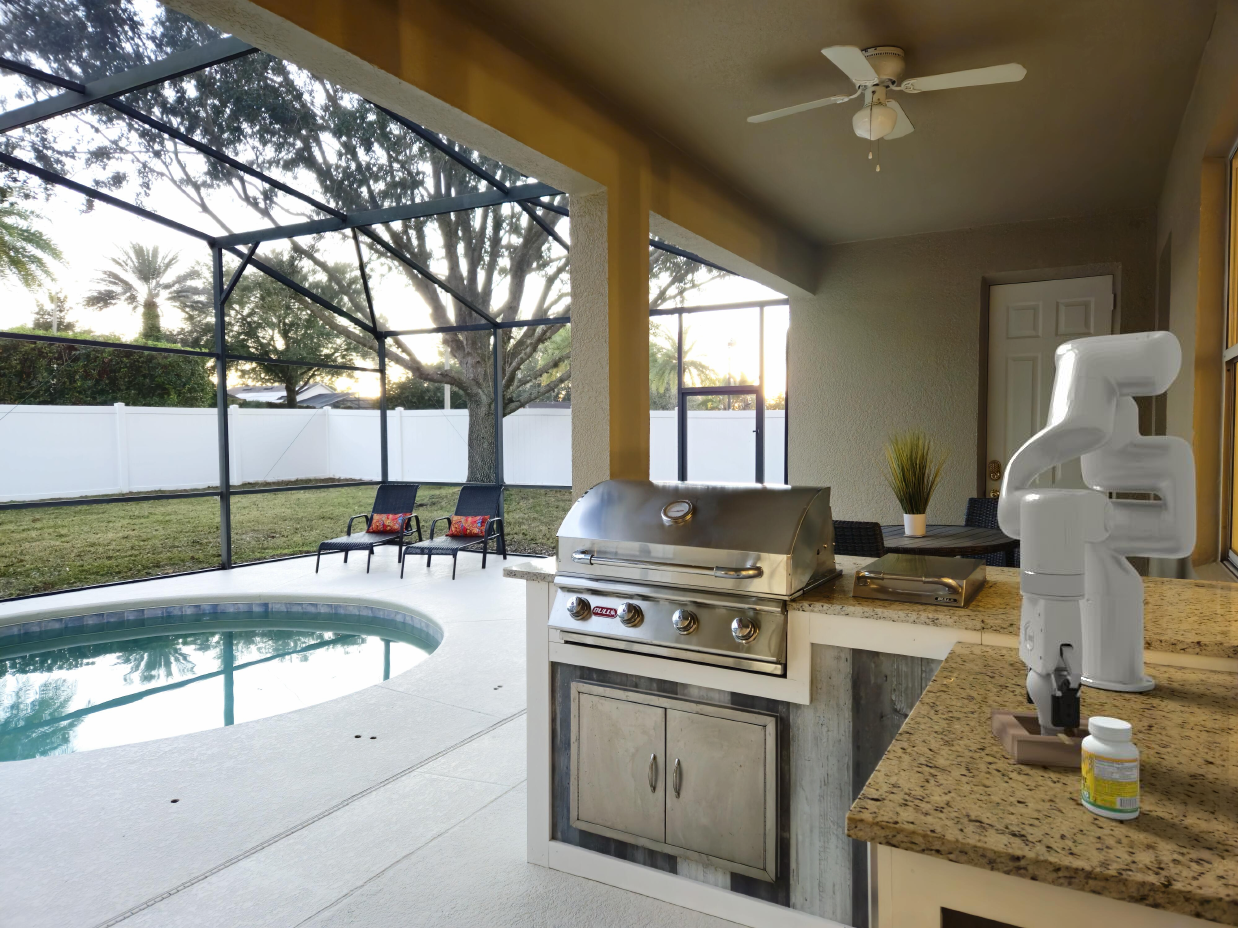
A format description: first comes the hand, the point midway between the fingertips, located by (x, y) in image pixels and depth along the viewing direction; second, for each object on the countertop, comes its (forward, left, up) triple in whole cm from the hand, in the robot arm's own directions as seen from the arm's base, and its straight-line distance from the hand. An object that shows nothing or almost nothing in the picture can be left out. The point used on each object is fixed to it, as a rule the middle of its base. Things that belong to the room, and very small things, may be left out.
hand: (1051, 714), depth 102 cm
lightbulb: (0, 0, -4) cm, 4 cm away
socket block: (0, 0, -5) cm, 5 cm away
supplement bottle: (+18, 0, -5) cm, 19 cm away
